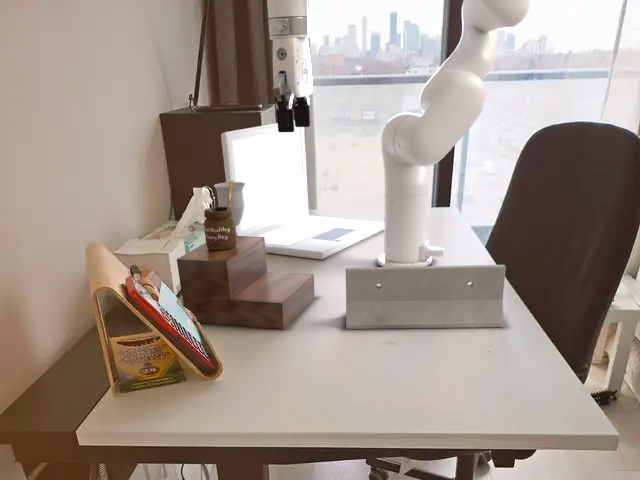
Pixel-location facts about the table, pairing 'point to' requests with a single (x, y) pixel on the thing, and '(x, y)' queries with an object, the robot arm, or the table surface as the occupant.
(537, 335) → the table surface
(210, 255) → the step shelf
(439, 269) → the barrier
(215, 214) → the utensil holder
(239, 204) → the chalice
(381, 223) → the laptop
